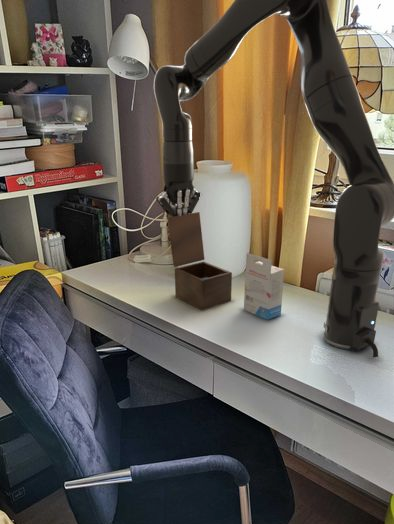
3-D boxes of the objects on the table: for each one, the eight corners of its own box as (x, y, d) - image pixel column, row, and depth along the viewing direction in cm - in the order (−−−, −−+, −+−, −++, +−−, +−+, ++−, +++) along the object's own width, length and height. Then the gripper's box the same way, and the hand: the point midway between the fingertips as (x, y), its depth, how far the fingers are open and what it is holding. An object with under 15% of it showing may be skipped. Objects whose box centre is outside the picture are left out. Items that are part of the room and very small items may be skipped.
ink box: (281, 315, 116) (286, 256, 109) (267, 320, 113) (271, 260, 106) (256, 304, 122) (260, 248, 115) (242, 309, 119) (245, 252, 112)
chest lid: (199, 212, 124) (197, 212, 124) (168, 217, 119) (167, 217, 119) (204, 259, 128) (202, 259, 129) (175, 267, 123) (173, 266, 124)
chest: (231, 301, 124) (231, 272, 120) (202, 310, 119) (201, 280, 115) (203, 288, 132) (203, 261, 129) (175, 296, 127) (174, 268, 123)
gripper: (164, 164, 111) (167, 238, 119) (208, 159, 118) (208, 230, 126) (147, 161, 116) (151, 232, 124) (190, 157, 123) (191, 224, 131)
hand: (180, 231), depth 125 cm, fingers closed
